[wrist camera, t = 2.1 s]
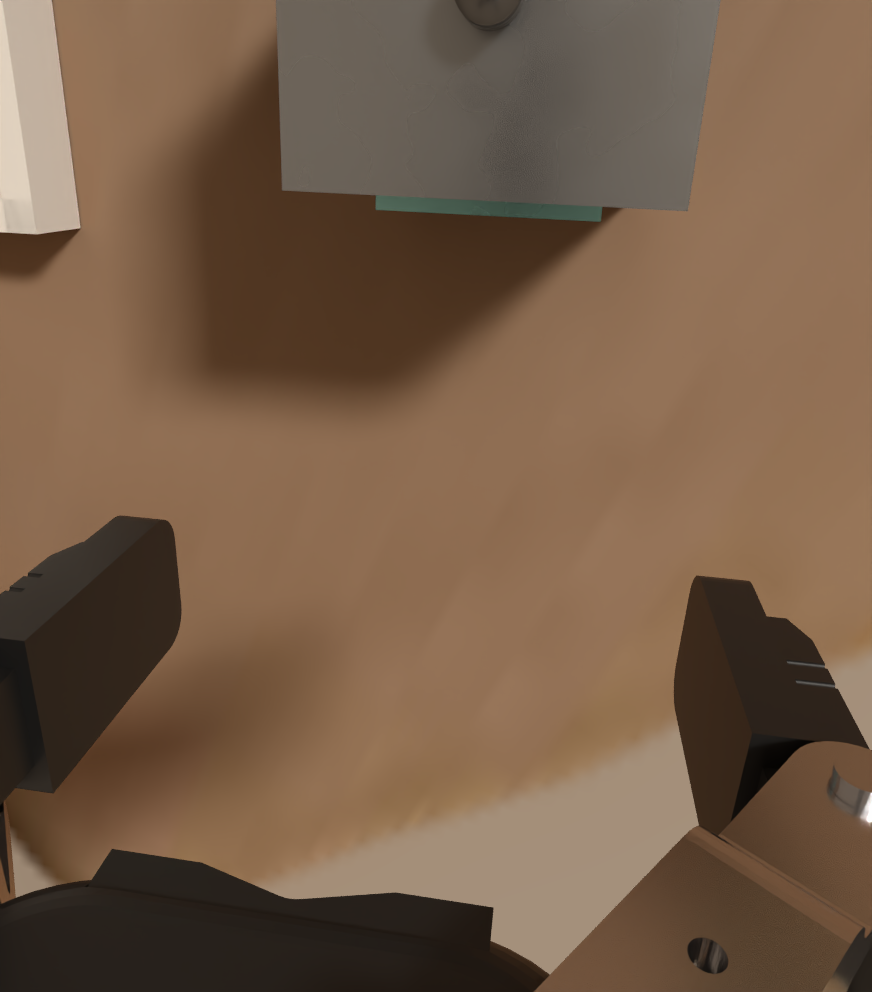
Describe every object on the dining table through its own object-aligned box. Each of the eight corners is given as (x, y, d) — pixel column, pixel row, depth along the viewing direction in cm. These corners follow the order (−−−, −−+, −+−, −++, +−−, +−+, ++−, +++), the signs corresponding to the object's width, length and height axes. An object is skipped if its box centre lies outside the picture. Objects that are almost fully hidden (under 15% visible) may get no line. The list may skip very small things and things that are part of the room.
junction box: (386, -87, 23) (251, -280, 13) (676, -84, 22) (773, -290, 12) (382, 193, 25) (269, 213, 16) (638, 206, 25) (690, 237, 15)
